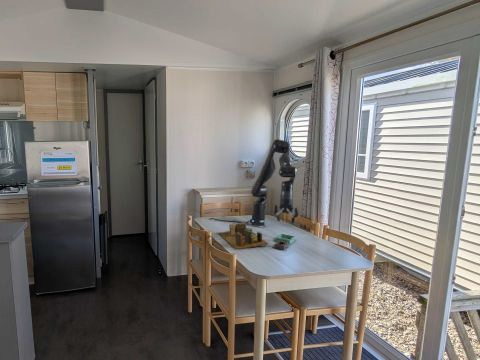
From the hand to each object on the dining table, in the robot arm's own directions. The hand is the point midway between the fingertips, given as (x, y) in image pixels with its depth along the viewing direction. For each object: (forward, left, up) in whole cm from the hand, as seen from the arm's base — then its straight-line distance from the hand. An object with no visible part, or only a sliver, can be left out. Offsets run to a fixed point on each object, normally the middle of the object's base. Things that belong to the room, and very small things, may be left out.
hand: (285, 222), depth 192 cm
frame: (-1, -2, -17) cm, 17 cm away
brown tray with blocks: (-26, -6, -17) cm, 32 cm away
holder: (-3, +12, -17) cm, 21 cm away
